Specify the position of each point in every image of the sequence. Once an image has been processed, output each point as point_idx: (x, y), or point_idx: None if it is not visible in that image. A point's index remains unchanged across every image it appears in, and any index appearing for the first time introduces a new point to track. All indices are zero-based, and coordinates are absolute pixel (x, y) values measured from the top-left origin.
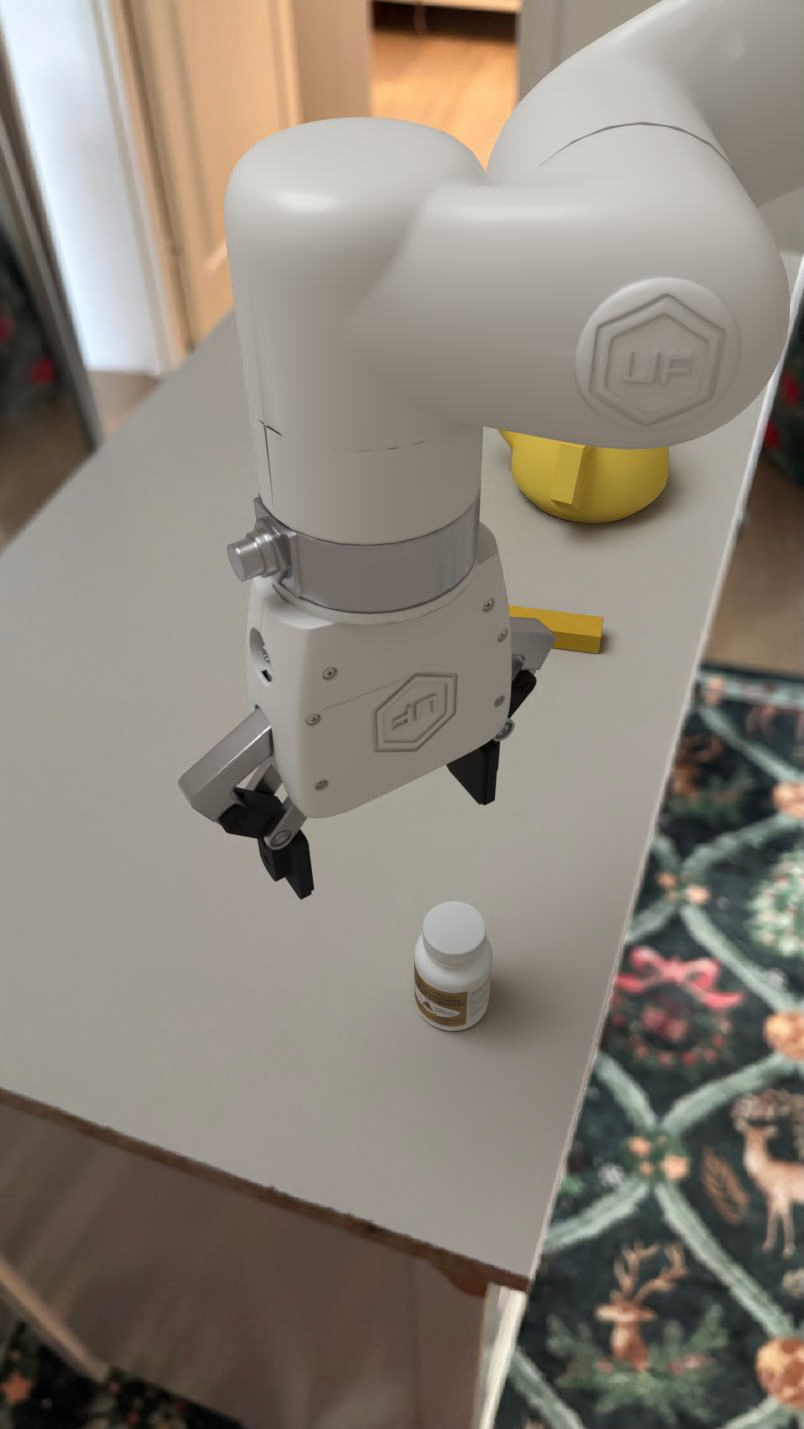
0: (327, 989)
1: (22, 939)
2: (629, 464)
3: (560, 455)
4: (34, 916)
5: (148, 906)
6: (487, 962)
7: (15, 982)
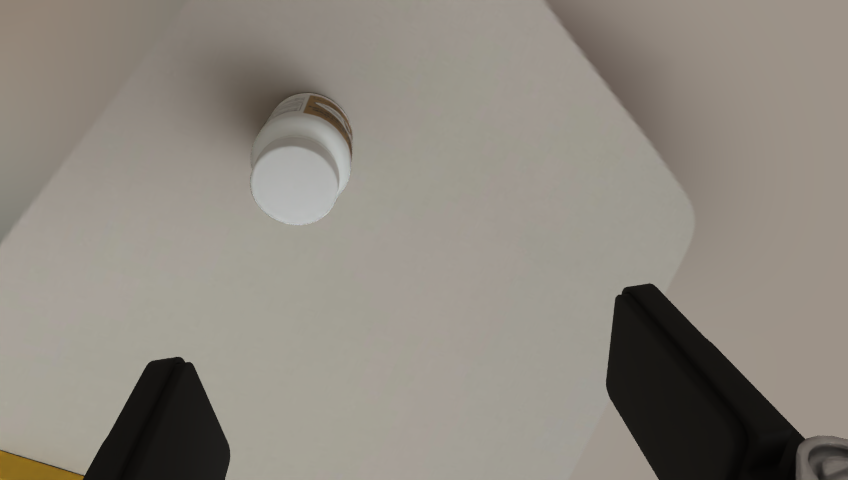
0: (427, 194)
1: None
2: None
3: None
4: None
5: (536, 327)
6: (265, 133)
7: None
